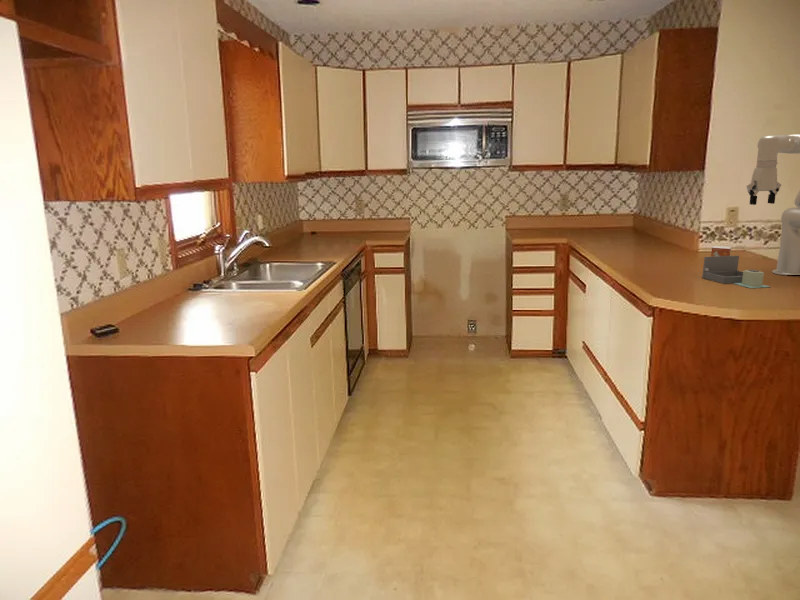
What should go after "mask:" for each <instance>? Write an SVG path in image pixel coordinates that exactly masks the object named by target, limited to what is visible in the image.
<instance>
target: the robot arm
mask: <svg viewBox="0 0 800 600" xmlns="http://www.w3.org/2000/svg"><path fill="white" fill-rule="evenodd" d="M757 148H758V149H757V150H758V151H757V158H756V168H755V167H754V169H753V173H752V176H751V181H750V183H749V184H748V185H746V190H747V192H748V195H749V197H750V198H749V205H752V206H756V205H757V201H758V200H757V199H758V195H757V194H758V193H759V192H768V193H769V194H768V196H767V204H772V205H773V204H775V202H776V196H777V194H778V192H779V191H780V188H781V187H782V184H781V183H780V182H778V168H777V165H778V153H779V154H789V155H790V154H795V155H796V154H799V155H800V134H799V133H798V134H773V135H764V136H761V137H760V138H759V140H758V142H757ZM794 205H795V207H789V208H786V209H785V210H784V211H783V212H782V214H781V218H780V219H781V236H780V242H779V250H778V257H777V263H776V268H775V269H773V270H772V271H771V272H772V273H773V274H775V275H779V276H780V275H781V276H787V275H800V190H799V191H798V192H797V195H796V197H795V198H794Z"/></svg>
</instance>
